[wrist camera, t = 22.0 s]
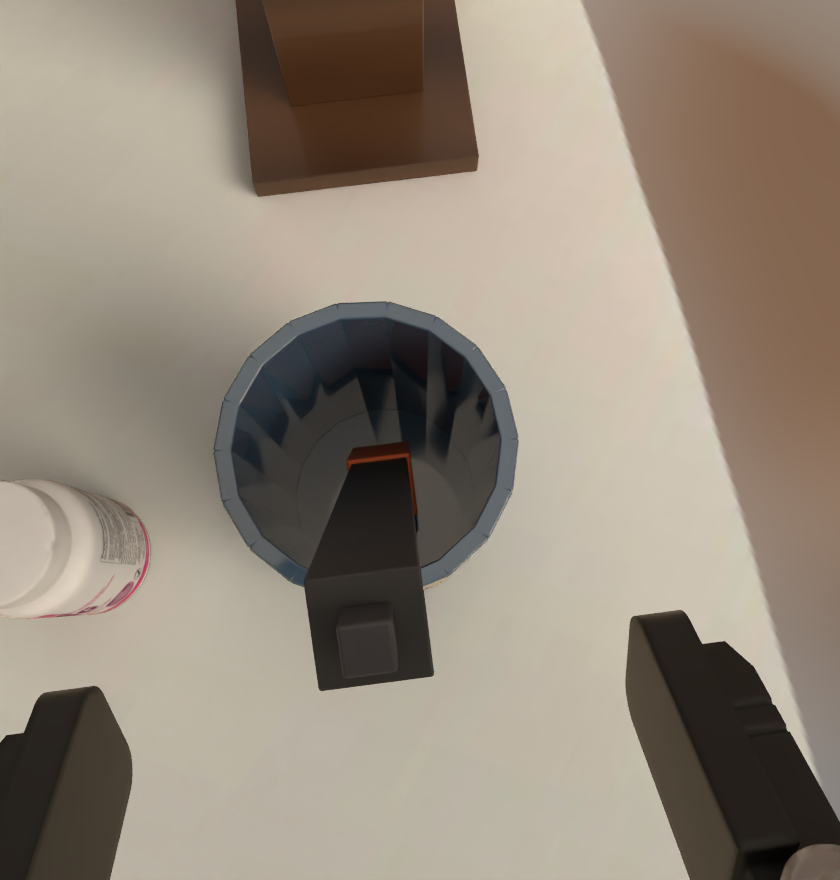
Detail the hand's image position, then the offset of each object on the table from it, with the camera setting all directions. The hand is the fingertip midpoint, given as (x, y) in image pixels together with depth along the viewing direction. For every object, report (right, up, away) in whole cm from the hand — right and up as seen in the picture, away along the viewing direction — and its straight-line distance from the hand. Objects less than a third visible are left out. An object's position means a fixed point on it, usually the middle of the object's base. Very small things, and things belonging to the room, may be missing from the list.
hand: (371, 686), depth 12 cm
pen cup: (-1, +1, +21) cm, 21 cm away
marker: (0, +1, +11) cm, 11 cm away
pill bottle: (-13, -1, +21) cm, 25 cm away
